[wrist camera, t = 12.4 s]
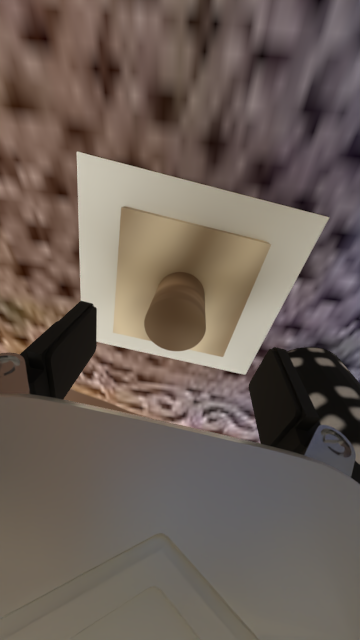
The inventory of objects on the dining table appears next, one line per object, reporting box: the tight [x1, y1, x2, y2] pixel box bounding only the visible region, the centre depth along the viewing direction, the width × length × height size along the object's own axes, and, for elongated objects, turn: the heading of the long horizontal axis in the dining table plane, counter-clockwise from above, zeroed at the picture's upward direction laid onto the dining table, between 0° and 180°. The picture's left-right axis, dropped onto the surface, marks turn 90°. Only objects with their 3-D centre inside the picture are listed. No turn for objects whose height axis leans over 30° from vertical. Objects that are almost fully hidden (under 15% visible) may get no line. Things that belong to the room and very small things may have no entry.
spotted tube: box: [287, 348, 360, 464], centre depth 15 cm, size 8×8×20 cm
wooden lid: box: [113, 206, 271, 357], centre depth 16 cm, size 11×11×6 cm
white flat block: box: [77, 152, 329, 375], centre depth 19 cm, size 18×16×1 cm
